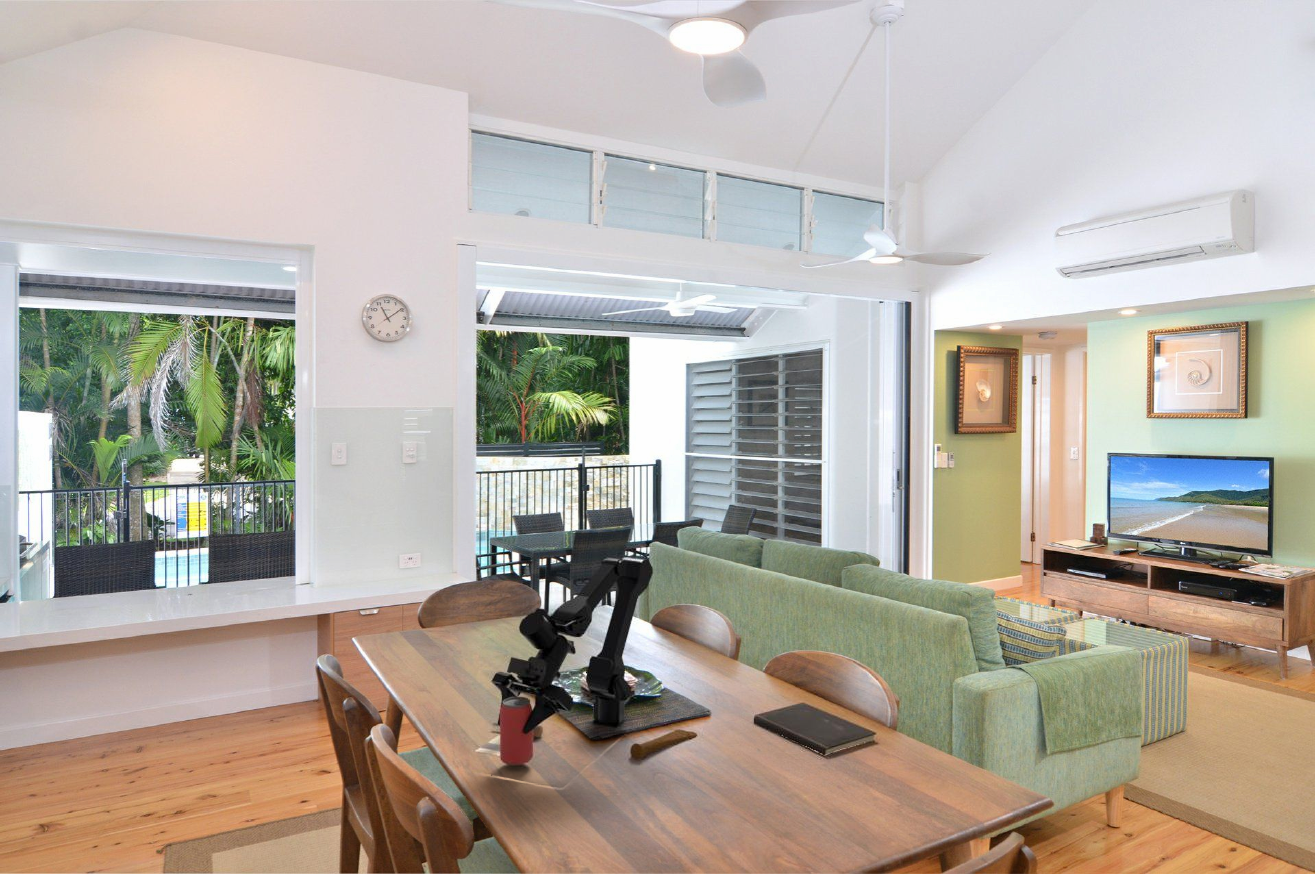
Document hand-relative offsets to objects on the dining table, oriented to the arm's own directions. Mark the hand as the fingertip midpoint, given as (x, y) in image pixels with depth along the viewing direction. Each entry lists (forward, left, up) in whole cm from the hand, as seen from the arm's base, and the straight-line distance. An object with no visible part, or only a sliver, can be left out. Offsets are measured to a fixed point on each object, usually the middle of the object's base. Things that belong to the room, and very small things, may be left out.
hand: (511, 729), depth 165 cm
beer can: (0, -1, -7) cm, 7 cm away
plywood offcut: (+8, -12, -8) cm, 16 cm away
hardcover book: (-52, -44, -9) cm, 69 cm away
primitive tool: (-23, -24, -9) cm, 35 cm away
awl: (+9, -16, -8) cm, 20 cm away
